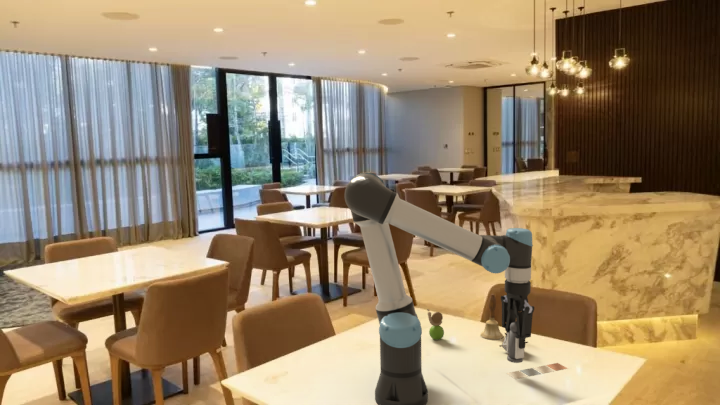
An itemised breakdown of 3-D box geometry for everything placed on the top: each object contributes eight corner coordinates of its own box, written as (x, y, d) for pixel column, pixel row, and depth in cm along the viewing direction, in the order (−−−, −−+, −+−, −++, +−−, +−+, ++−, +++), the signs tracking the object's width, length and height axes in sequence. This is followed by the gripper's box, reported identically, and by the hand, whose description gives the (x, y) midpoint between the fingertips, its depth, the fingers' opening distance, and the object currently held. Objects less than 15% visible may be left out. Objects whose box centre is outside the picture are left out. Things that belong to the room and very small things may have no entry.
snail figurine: (424, 338, 200) (423, 307, 199) (438, 335, 203) (438, 304, 202) (432, 343, 196) (431, 311, 194) (447, 340, 198) (446, 308, 197)
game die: (518, 367, 182) (530, 351, 176) (494, 357, 183) (505, 341, 177) (521, 346, 189) (532, 330, 182) (498, 337, 190) (508, 321, 183)
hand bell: (501, 332, 205) (502, 291, 204) (504, 340, 197) (504, 297, 196) (479, 331, 207) (479, 291, 205) (481, 339, 198) (481, 297, 197)
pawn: (513, 363, 162) (514, 325, 161) (504, 358, 166) (505, 320, 165) (525, 361, 163) (527, 323, 162) (516, 356, 168) (517, 318, 166)
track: (515, 384, 161) (515, 381, 161) (501, 375, 168) (501, 372, 168) (572, 372, 168) (572, 369, 168) (556, 364, 175) (556, 361, 175)
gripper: (546, 285, 156) (543, 363, 158) (511, 272, 171) (508, 344, 174) (524, 288, 153) (521, 367, 156) (491, 274, 169) (488, 347, 171)
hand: (515, 354), depth 165 cm, fingers closed on pawn, 3 cm apart
